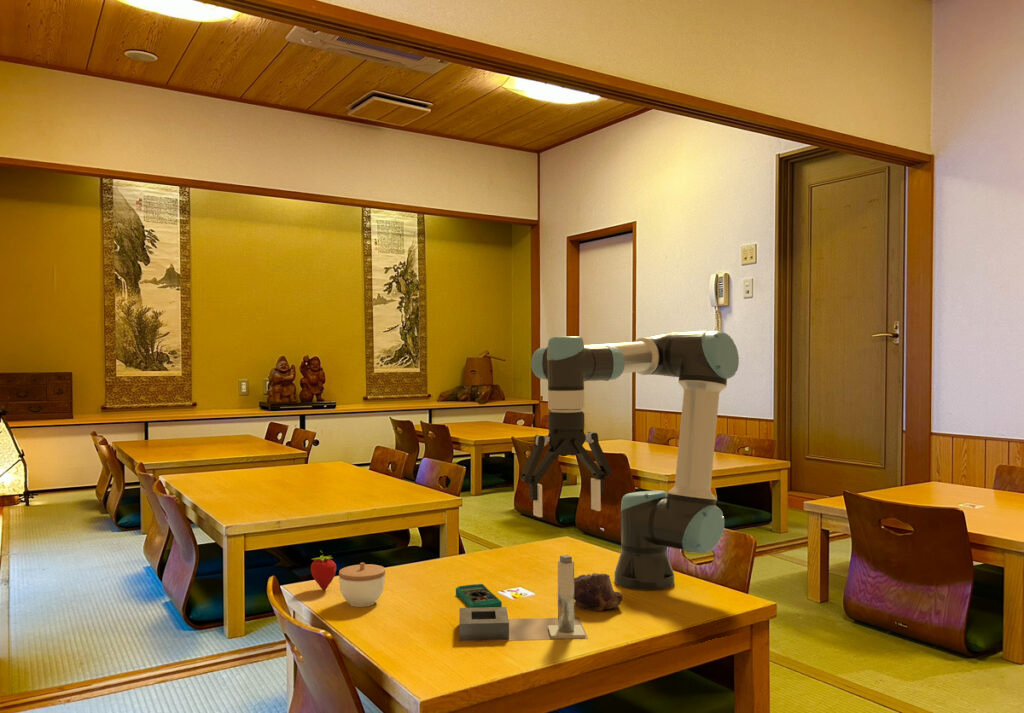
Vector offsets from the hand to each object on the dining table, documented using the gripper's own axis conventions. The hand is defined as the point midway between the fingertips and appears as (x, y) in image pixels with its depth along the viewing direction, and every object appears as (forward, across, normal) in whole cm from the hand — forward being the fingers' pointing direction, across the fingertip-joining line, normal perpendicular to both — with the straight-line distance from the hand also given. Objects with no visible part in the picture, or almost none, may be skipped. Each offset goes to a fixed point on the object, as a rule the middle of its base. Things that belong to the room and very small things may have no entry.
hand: (567, 513), depth 159 cm
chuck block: (+24, +16, -7) cm, 30 cm away
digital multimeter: (+26, +10, -27) cm, 39 cm away
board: (+25, +8, -5) cm, 27 cm away
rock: (+26, -12, -12) cm, 31 cm away
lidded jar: (+25, +34, -38) cm, 57 cm away
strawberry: (+25, +41, -52) cm, 71 cm away
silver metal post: (+24, +1, +1) cm, 24 cm away
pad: (+24, +1, +1) cm, 25 cm away
